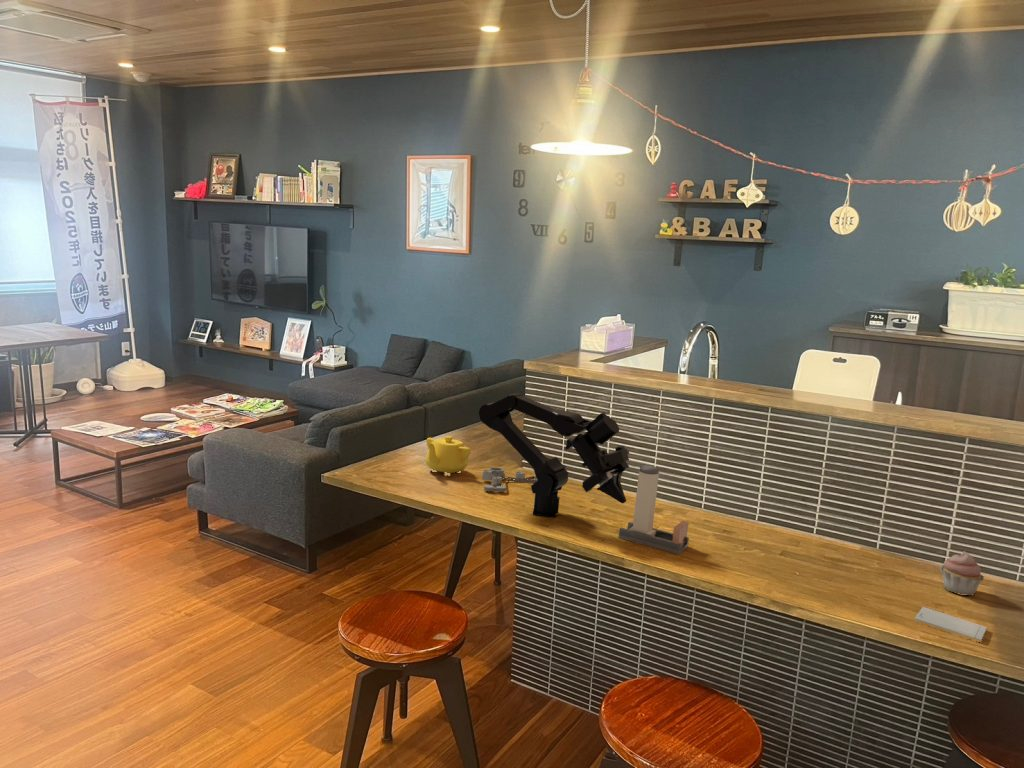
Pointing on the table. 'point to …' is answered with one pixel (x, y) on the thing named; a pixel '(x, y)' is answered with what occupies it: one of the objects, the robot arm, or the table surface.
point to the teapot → (447, 455)
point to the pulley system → (498, 475)
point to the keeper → (645, 500)
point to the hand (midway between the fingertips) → (624, 502)
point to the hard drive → (951, 623)
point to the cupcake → (961, 574)
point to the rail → (660, 538)
